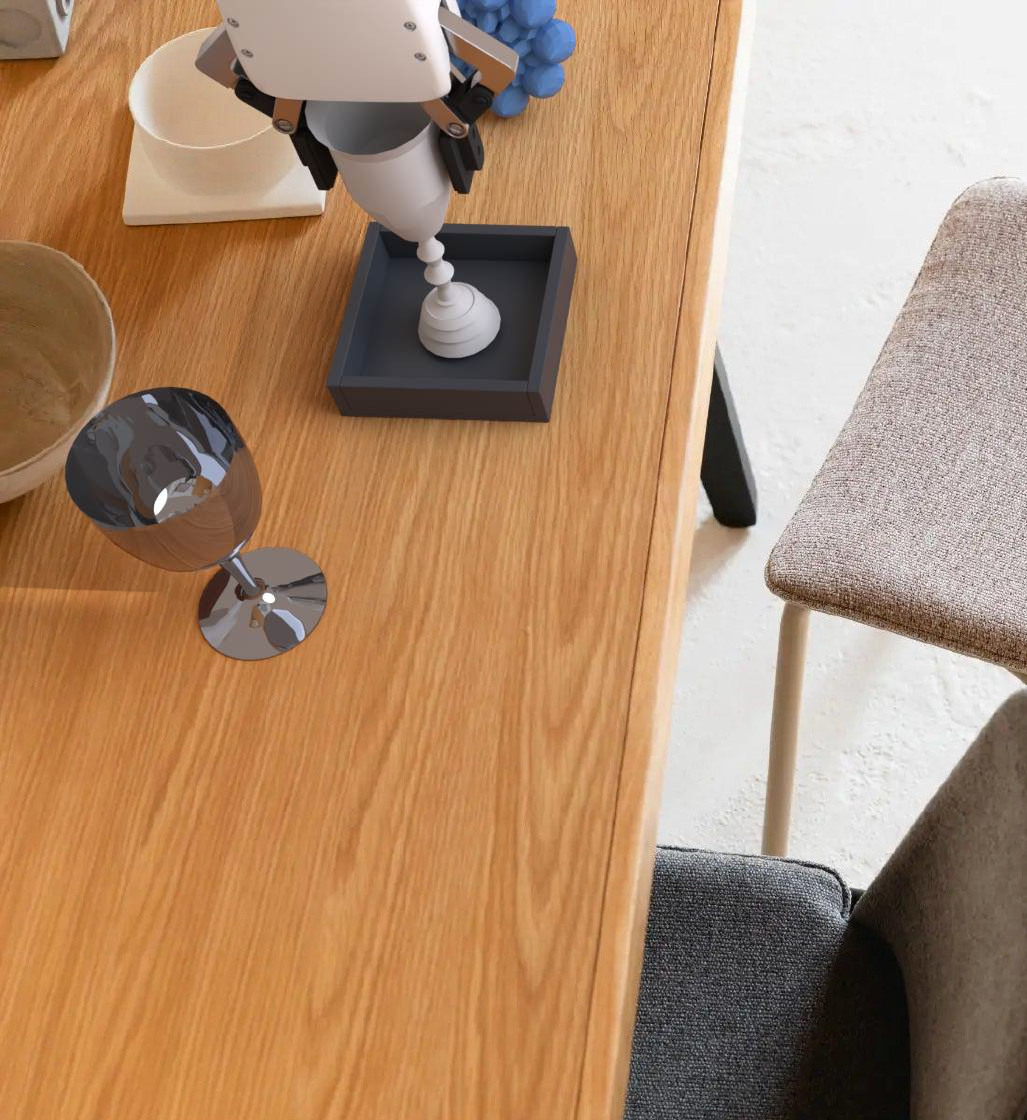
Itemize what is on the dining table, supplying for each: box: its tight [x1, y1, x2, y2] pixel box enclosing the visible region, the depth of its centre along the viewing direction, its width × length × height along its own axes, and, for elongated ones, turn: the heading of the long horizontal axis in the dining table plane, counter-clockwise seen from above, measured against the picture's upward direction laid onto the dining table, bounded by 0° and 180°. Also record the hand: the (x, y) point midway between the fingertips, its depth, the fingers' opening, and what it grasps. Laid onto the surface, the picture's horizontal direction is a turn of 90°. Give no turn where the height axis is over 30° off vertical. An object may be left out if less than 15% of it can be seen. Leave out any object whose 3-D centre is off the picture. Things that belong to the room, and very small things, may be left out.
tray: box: [325, 221, 579, 423], centre depth 91 cm, size 13×13×3 cm
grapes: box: [445, 0, 577, 119], centre depth 97 cm, size 12×7×12 cm, turn 87°
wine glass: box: [64, 386, 328, 662], centre depth 77 cm, size 8×8×15 cm
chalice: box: [305, 100, 501, 358], centre depth 84 cm, size 7×7×18 cm
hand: (398, 170), depth 80 cm, fingers closed on chalice, 6 cm apart
